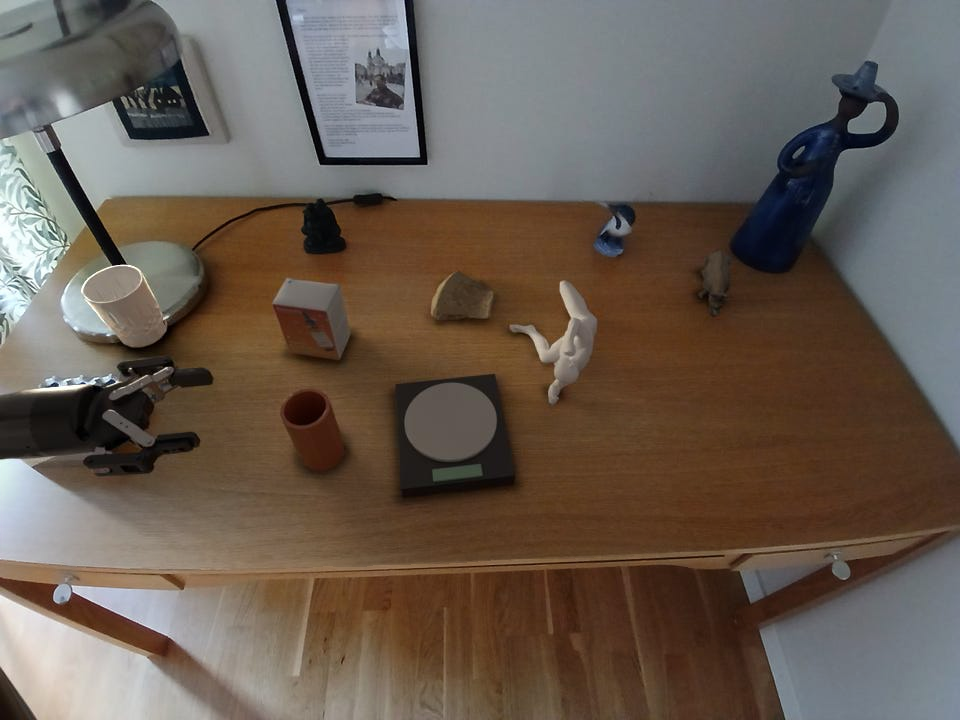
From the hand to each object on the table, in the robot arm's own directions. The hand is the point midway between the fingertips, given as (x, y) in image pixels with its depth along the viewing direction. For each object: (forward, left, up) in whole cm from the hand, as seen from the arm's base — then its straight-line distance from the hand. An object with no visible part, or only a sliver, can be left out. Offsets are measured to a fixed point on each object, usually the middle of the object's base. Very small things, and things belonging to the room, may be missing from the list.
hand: (204, 406), depth 62 cm
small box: (+19, -10, -12) cm, 25 cm away
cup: (0, -10, -12) cm, 16 cm away
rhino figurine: (+21, -72, -12) cm, 77 cm away
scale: (0, -28, -12) cm, 30 cm away
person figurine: (+11, -46, -12) cm, 48 cm away
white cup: (+25, +18, -12) cm, 33 cm away
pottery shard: (+25, -32, -12) cm, 43 cm away
